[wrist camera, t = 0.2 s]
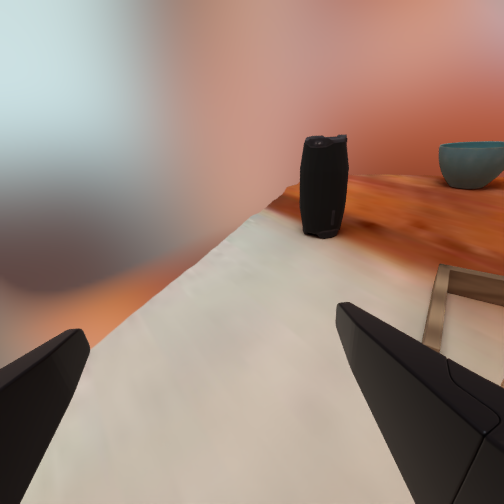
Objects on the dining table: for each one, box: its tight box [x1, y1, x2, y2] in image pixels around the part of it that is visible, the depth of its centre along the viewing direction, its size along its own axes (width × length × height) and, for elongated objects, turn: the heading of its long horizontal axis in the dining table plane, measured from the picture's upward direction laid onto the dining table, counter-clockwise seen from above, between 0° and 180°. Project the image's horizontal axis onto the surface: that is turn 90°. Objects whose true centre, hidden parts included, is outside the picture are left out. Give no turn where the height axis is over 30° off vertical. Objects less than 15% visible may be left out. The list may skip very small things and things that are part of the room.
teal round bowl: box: [439, 141, 504, 189], centre depth 79 cm, size 18×18×12 cm
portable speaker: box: [300, 135, 349, 239], centre depth 53 cm, size 9×9×20 cm
